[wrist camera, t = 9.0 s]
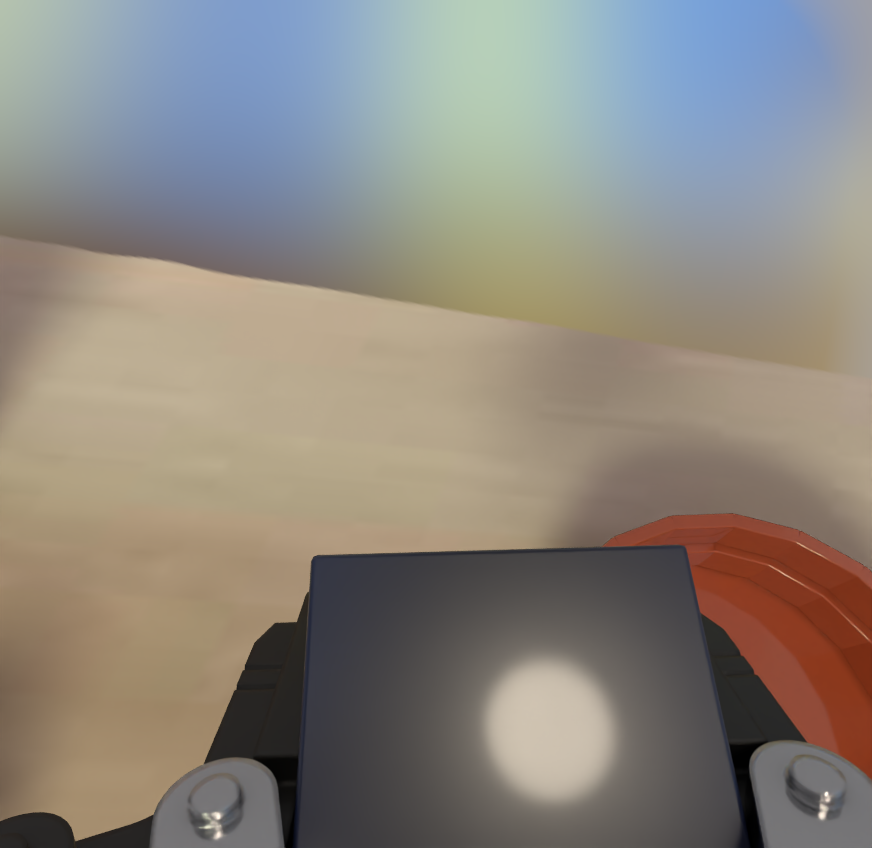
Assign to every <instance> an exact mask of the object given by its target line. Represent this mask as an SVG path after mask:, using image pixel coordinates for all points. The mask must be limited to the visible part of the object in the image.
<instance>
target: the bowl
mask: <svg viewBox="0 0 872 848" xmlns="http://www.w3.org/2000/svg"><path fill="white" fill-rule="evenodd" d="M648 545H683V546H685V548H686V549H687V554H688V558H689V563H690V567H691V572H692V577H693V581H694V586H695V590H696V595H697V600H698V604H699V609H700V613H702V614H703V615H705V616H706V617H707V618H709V619H710V620H712V621H713V622H715V623H716V624H717V625H719V626H720V627H722V628H723V629H724V630H725V631H726V633H727V634H728V635H729V637H730V638H731V639H732V641H733V642H734V643H735V645H736V646H737V648H738V649H739V650H740V654H741V656H744V657H745V658H746V660H747V661H748V662H749V664H750V665H751V667H752V668H753V669H754V674H755V675H758V676H759V677H760V679H761V680H762V681H763V683H764V684H765V685H766V687H767V688H768V690H769V691H770V692H771V694H772V695H773V696H774V698H775V699H776V700H777V702H778V703H779V704H780V706H781V707H782V709H783V710H784V711H785V713H786V714H787V715H788V717H789V718H790V719H791V721H792V722H793V723H794V725H795V726H796V728H797V729H798V730H799V732H800V733H801V734H802V736H803V737H804V738H805V740H806V741H807V742H808V743H810V744H814V745H817V746H820V747H822V748H825V749H827V750H830V751H832V752H834V753H836V754H838V755H840V756H841V757H843V758H845V759H847V760H848V761H849V762H851V763H852V764H854V765H855V766H857V767H858V768H859V769H860V770H861V771H863V772H864V773H865V774H866V775H867V776H868V777H869V778H870V779H871V780H872V572H871V571H870V570H869V569H868V568H867V567H865V566H864V565H863V564H861V563H859V562H857V561H855V560H853V559H852V558H850V557H848V556H846V555H844V554H842V553H841V552H839V551H837V550H835V549H833V548H831V547H830V546H828V545H826V544H824V543H822V542H821V541H819V540H817V539H815V538H813V537H811V536H810V535H808V534H806V533H804V532H802V531H799V530H797V529H793V528H789V527H785V526H781V525H777V524H773V523H770V522H766V521H762V520H758V519H754V518H750V517H746V516H742V515H738V514H733V513H729V514H701V515H673V516H668V517H665V518H663V519H660V520H657V521H654V522H652V523H649V524H646V525H644V526H641V527H638V528H636V529H633V530H630V531H628V532H625V533H622V534H619V535H617V536H615V537H614V538H611V539H610V540H609V541H608V542H606V543H605V544H604V545H603V546H602V547H613V546H648Z"/></svg>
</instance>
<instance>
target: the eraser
mask: <svg viewBox="0 0 872 848" xmlns="http://www.w3.org/2000/svg"><path fill="white" fill-rule="evenodd" d="M292 848H751V844H750V839H749V835H748V830H747V825H746V821H745V816H744V812H743V807H742V802H741V798H740V793H739V788H738V784H737V779H736V775H735V770H734V765H733V761H732V756H731V752H730V747H729V742H728V738H727V733H726V729H725V724H724V719H723V715H722V710H721V706H720V701H719V696H718V692H717V687H716V683H715V678H714V673H713V669H712V664H711V660H710V655H709V650H708V646H707V641H706V636H705V632H704V627H703V623H702V618H701V613H700V609H699V604H698V600H697V595H696V590H695V586H694V581H693V577H692V572H691V567H690V563H689V558H688V554H687V549H686V548H685V546H683V545H648V546H613V547H579V548H545V549H511V550H477V551H442V552H408V553H374V554H340V555H317V556H314V557H313V559H312V561H311V572H310V587H309V602H308V617H307V632H306V647H305V662H304V677H303V692H302V707H301V722H300V737H299V752H298V767H297V782H296V797H295V812H294V827H293V842H292Z"/></svg>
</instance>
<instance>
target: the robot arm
mask: <svg viewBox="0 0 872 848" xmlns="http://www.w3.org/2000/svg"><path fill="white" fill-rule="evenodd" d="M308 602H309V592H307V594H306V596H305V599H304V602H303V605H302V608H301V611H300V614H299V617H298V620H297V622H289V623H275V624H274V625H273V626H272V627H270V628H269V629H268V630H267V631H266V632H265V633H264V634H263V635H262V636H261V637H260V638H259V639H258V640H257V641H256V642H255V643H254V645H253V648H252V650H251V652H250V655H249V657H248V660H247V662H246V664H245V670H243V672H242V674H241V676H240V679H239V681H238V683H237V690H235V691H234V693H233V695H232V698H231V700H230V703H229V705H228V707H227V710H226V712H225V714H224V717H223V719H222V722H221V724H220V726H219V729H218V731H217V734H216V736H215V738H214V741H213V743H212V746H211V748H210V750H209V753H208V755H207V757H206V760H205V762H204V765H201V766H199V767H197V768H195V769H193V770H192V771H190V772H188V773H187V774H185V775H184V776H183V777H181V778H180V779H179V780H178V781H176V782H175V783H174V784H173V785H172V786H171V787H170V788H169V789H168V791H167V792H166V793H165V794H164V796H163V797H162V799H161V800H160V802H159V803H158V805H157V808H156V810H155V812H154V815H152V816H150V817H148V818H146V819H143V820H141V821H139V822H136V823H133V824H130V825H127V826H124V827H121V828H118V829H114V830H111V831H108V832H105V833H101V834H98V835H95V836H92V837H88V838H85V839H82V840H79V841H75V839H74V835H73V832H72V829H71V827H70V825H69V824H68V822H67V821H65V820H64V819H63V818H62V817H60V816H57V815H55V814H51V813H44V812H40V813H28V814H22V815H18V816H14V817H11V818H8V819H5V820H3V821H0V848H292V842H293V827H294V812H295V797H296V782H297V767H298V752H299V737H300V722H301V707H302V692H303V677H304V662H305V647H306V632H307V617H308ZM701 618H702V623H703V627H704V632H705V636H706V641H707V646H708V650H709V655H710V660H711V664H712V669H713V673H714V678H715V683H716V687H717V692H718V696H719V701H720V706H721V710H722V715H723V719H724V724H725V729H726V733H727V738H728V742H729V747H730V752H731V756H732V761H733V765H734V770H735V775H736V779H737V784H738V788H739V793H740V798H741V802H742V807H743V812H744V816H745V821H746V825H747V830H748V835H749V839H750V844H751V848H872V780H871V779H870V778H869V777H868V776H867V775H866V774H865V773H864V772H863V771H861V770H860V769H859V768H858V767H857V766H855V765H854V764H852V763H851V762H849V761H848V760H847V759H845V758H843V757H841V756H840V755H838V754H836V753H834V752H832V751H830V750H827V749H825V748H822V747H820V746H817V745H814V744H810V743H808V742H807V741H806V740H805V738H804V737H803V736H802V734H801V733H800V732H799V730H798V729H797V728H796V726H795V725H794V723H793V722H792V721H791V719H790V718H789V717H788V715H787V714H786V713H785V711H784V710H783V709H782V707H781V706H780V704H779V703H778V702H777V700H776V699H775V698H774V696H773V695H772V694H771V692H770V691H769V690H768V688H767V687H766V685H765V684H764V683H763V681H762V680H761V679H760V677H759V676H758V675H755V674H754V669H753V668H752V667H751V665H750V664H749V662H748V661H747V660H746V658H745V657H744V656H741V654H740V650H739V649H738V648H737V646H736V645H735V643H734V642H733V641H732V639H731V638H730V637H729V635H728V634H727V633H726V631H725V630H724V629H723V628H722V627H720V626H719V625H717V624H716V623H715V622H713V621H712V620H710V619H709V618H707V617H706V616H705V615H703V614H702V613H701Z"/></svg>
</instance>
